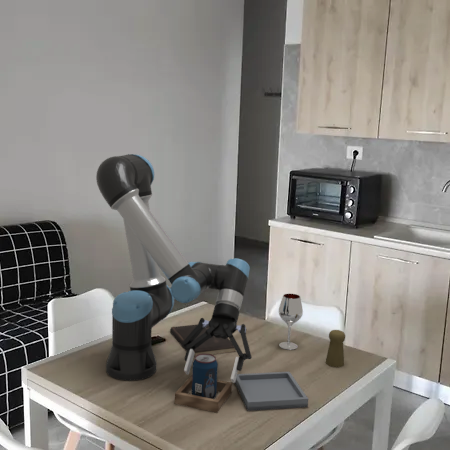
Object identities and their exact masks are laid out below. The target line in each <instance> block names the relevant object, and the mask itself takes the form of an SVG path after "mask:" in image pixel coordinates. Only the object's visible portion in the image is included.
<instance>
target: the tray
mask: <svg viewBox="0 0 450 450" xmlns="http://www.w3.org/2000/svg"><path fill="white" fill-rule="evenodd" d="M234 385H235V387H236V389H237V391H238V394H239V395H240V397H241V399H242V402H243V404H244V406H245V408H246V410H247V412H250V411H252V412H253V411H267V410H268V411H269V410H284V409H297V408H298V409H299V408H308V406H309V397H308V396H307V395H306V393H305V392H304V390H303V388H301V386H300V385H299V383H298V382H297V380H296V379H295V377H294V376H293V374H292V373H291V372H290V371H278V372H277V371H274V372H273V371H272V372H271V371H270V372H257V373H256V372H255V373H254V372H253V373H252V372H251V373H237V377H236V381H235V383H234Z"/></svg>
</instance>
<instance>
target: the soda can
mask: <svg viewBox="0 0 450 450" xmlns="http://www.w3.org/2000/svg"><path fill="white" fill-rule="evenodd" d="M218 367H219V363H218V361H217V357H216V356H215V354H212V355H211V354H198V355H196V356H195V357H194V359H193V361H192V372H191V375H192V389H191V395H196V396H201V397H206V398H211V399H216V398H217V380H218Z"/></svg>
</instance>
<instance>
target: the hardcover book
mask: <svg viewBox="0 0 450 450" xmlns="http://www.w3.org/2000/svg"><path fill="white" fill-rule="evenodd" d="M197 325H198V323H197V324H189V325H180V326H172V327H170V329H169V332H170V334H171V335H172V336H173V337H174V338H175V339H176V340H177V342H178V343H179V345H180V346H181V347H182V348H183V349H184V350H185V351H186V350H187V349H185V348H184V347H183V345H182V342H183V341H184V340H185V339H186V338H187V336H188V335H189V334H190V333H191V332H192V331H193V330H194V328H195V327H196V326H197ZM209 328H210V327H209V325H208V326H206V328H204V329H203V330H202V332H201V333H200V334H199V335H198V336H197V337H196V339H197V338H198V337H199V336H201V335H202V334H203V333H205V332H206V330H207V329H209ZM193 351H194V352H195V354H194V358H195V356H196V355H198V354H211V355H219V354H227V353H234V352H236V350H235V348H234V346H233V344H232V342H231V341H230V339H229V337H228V338H226V339H223V338H215V336H213V337H212V338H209V339H208V340H207V341H205V342H204V343H203V344H201V345H200V346H199V347H197V348H196V349H195V350H193Z"/></svg>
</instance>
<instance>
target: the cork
mask: <svg viewBox="0 0 450 450" xmlns="http://www.w3.org/2000/svg"><path fill="white" fill-rule="evenodd" d="M328 338H329V339H328V340H329V345H328V348H327V354H326V358H325V362H324V363H325V365H327V366H329V367H333V368H342V367H344V366H345V353H344V351H345V349H344V341H346V334H345V332H344V331H342V330H340V329H332V330H331V331H329V334H328Z"/></svg>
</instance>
